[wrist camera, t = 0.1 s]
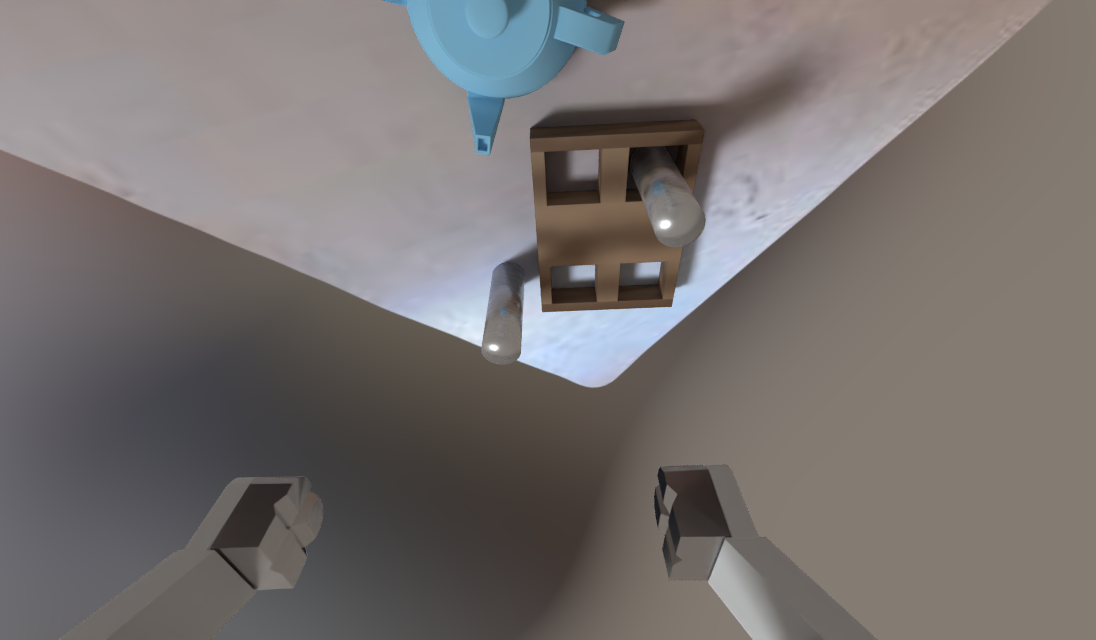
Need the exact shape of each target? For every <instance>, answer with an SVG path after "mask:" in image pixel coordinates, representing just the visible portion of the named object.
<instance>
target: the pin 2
mask: <svg viewBox="0 0 1096 640" xmlns="http://www.w3.org/2000/svg"><path fill="white" fill-rule="evenodd" d="M630 169H631V172H632V174H633V177H634V180H635V182H636V185H637V188H638V190H639V193H640V195H641V198H642V201H643V203H644V206H645V209H646V211H647V214H648V216H649V219H650V222H651V224H652V227H653V229H654V232H655V235H656V237H657V239H658V240H659V241H660V242H661V243H662V244H664V245H666V246H669V247H681V246H684V245H687V244H689V243H691V242H693V241H694V240H695V239H696V238H698V236H699V235H700V234H701V233H702V231H703V229H704V226H705V215H704V212H703V211H702V209H701V207H700V206H699V204H698V202H697V200H696V199H695V197H694V195H693V194H692V192H691V190H690V189H689V187H688V185H687V183H686V182H685V180H684V178H683V177H682V175H681V173H680V171H679V170H678V168H677V166H676V165H675V163H674V161H673V160H672V158H671V156H670V154H669V153H668V151H667V149H666V148H665V147H664V146H651V147H639V148H638V149H637V150H636V151H635V153H634V154H633V156H632V158H631V162H630Z"/></svg>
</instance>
